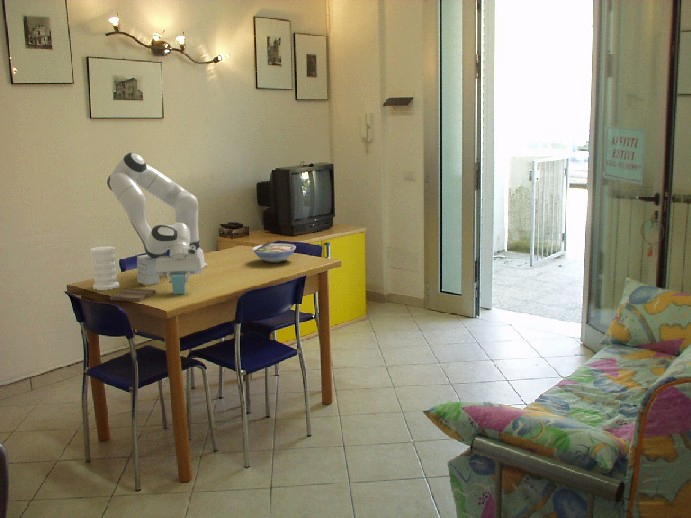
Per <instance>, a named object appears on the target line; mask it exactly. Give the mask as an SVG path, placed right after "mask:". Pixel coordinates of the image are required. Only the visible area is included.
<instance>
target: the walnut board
mask: <svg viewBox="0 0 691 518" xmlns="http://www.w3.org/2000/svg"><path fill="white" fill-rule="evenodd" d="M156 293H157V291H156V289H147V288H146V289H145V288H125V289H123V290H121V291H119V292H116V293H115V294H112V295H111V296H109V301H115V302H116V301H117V302H118V301H119V302H137V301H138V302H142V301H144V300H145V299H147V298H149V297H151V296H153V295H154V294H156Z"/></svg>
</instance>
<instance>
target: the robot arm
mask: <svg viewBox="0 0 691 518" xmlns="http://www.w3.org/2000/svg"><path fill="white" fill-rule="evenodd" d="M106 183H107V187H108V189H109V190H110V191H111V192H113V195H114V196H115V198H116V200H117V201H118V202H119V203H120V205H121V206H122V208H123V210H124V211H125V213H126V215H127V217H128V219H129V221H130V223H131V225H132V227H133V229H134V230H135V232H136V234H137V235H138V237H139V239H140V240H141V243H142V244H143V248H144V251H145V255H146V254H147V255H148V256H150V257H151V258H155V259H156V268H155V272H156V274H157V275H158V276H159V277H161V276H162V277H163V276H167V279H168V283H169V284H172V275H173V274H185V277H184V282H185V283H188V282H189V279H190V278H191V275H194V274H195V275H197V274H199V275H200V274H202V272H203V268H205V267H207V266H208V263H207V262H205V256H204V255H205V254H204V250H203V249H201V242H200V238H199V224H198V223H199V202H198V201H199V200H198V198H197V196H195V195H194V194H193V193H191V192H190V191H188V190H186V189H185V188H183V187H182V186H180V185H179V184H178V183H176V182H175V181H174V180H172V179H171V178H169V177H168V176H166V175H165V174H163V173H162V172H160V171H159V170H158V169H156V168H154V167H153V166H150V165H148V164H147V163H146V160H145V159H144V157H143V156H142V155H141V154H139V153H138V152H137V153H136V152H129V153H127V154H126V155H124V156H123V158H122V159H121V160H120V161H119V162H118V163H117V165H116V166H115V168H114V169H113V171H112V172H111V174H110V175H109V176H108V178H107V182H106ZM139 186H140V187H139ZM141 188H143V189H144V190H145V191H147V192H148V193H150V194H151V195H152V196H155V197H156V198H157V199H159V200H160V201H162V202H163V203H164V204H167V205H168V206H169V207H171V208H172V209H174V210H175V223H173V224H168V225H166V224H157V225H154V227H153V228H151V227H150V225H149V223H148V221H147V219H146V218H147V217H146V205H147V198H146V196H145V194H144V192H143V191H142V189H141ZM168 251H169V255H167V253H168Z"/></svg>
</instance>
